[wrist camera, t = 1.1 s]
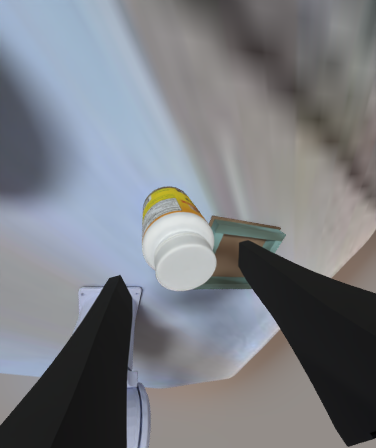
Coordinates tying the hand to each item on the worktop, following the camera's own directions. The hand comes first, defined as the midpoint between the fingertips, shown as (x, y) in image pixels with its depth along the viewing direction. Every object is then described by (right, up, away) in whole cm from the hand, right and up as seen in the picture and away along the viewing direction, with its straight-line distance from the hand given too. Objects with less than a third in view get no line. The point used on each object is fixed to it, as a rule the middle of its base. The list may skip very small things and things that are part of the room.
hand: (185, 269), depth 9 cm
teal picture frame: (+7, -2, +15) cm, 17 cm away
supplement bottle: (-2, +5, +9) cm, 11 cm away
